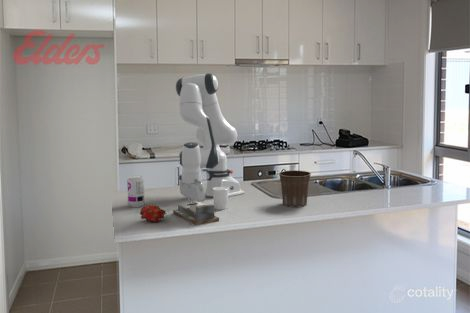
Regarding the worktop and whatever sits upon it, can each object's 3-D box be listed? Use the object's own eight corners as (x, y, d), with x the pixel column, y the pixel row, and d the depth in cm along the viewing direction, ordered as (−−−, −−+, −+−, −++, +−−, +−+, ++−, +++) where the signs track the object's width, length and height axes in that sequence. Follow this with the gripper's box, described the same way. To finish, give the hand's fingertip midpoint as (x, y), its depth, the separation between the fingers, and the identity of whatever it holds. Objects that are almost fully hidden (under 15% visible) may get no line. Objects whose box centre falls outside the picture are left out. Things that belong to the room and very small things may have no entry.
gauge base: (195, 209, 231) (195, 194, 230) (219, 221, 211) (218, 204, 210) (173, 213, 225) (172, 197, 224) (194, 225, 205) (194, 208, 204)
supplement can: (128, 208, 236) (127, 178, 234) (128, 204, 244) (126, 176, 242) (145, 207, 238) (144, 177, 236) (144, 203, 246) (142, 175, 244)
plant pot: (299, 210, 228) (299, 177, 226) (272, 205, 239) (272, 173, 236) (316, 203, 240) (317, 172, 238) (290, 199, 251) (290, 169, 249)
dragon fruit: (138, 224, 213) (164, 227, 213) (136, 217, 205) (164, 221, 206) (141, 207, 217) (167, 210, 217) (140, 200, 209) (167, 203, 210)
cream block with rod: (199, 212, 220) (199, 200, 219) (205, 215, 214) (205, 203, 214) (184, 214, 216) (184, 203, 215) (190, 217, 211) (189, 205, 210)
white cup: (220, 205, 240) (219, 186, 238) (232, 207, 235) (231, 188, 233) (209, 208, 234) (209, 188, 232) (221, 210, 229) (221, 190, 227)
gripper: (208, 180, 210) (208, 211, 212) (189, 174, 228) (189, 202, 230) (195, 182, 207) (196, 213, 209) (176, 175, 225) (177, 203, 226)
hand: (192, 207), depth 219 cm, fingers closed
